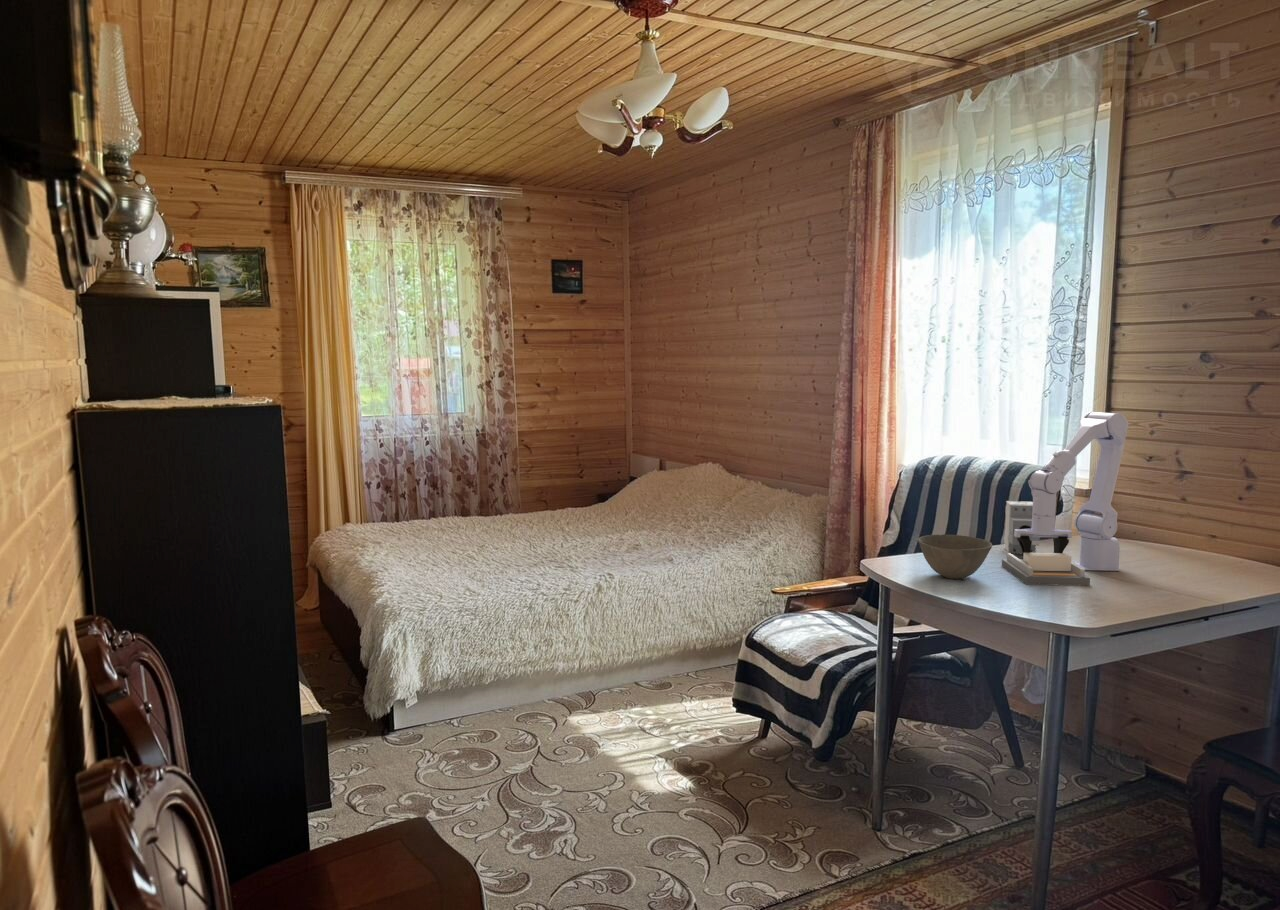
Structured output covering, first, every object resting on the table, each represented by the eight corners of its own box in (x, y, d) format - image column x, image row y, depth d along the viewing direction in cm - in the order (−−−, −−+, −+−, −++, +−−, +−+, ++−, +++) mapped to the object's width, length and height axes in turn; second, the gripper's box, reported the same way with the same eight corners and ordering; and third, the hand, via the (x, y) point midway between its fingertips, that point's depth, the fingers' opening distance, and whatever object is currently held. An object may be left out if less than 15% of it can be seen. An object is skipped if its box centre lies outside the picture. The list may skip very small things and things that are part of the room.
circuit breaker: (1012, 558, 250) (1014, 508, 248) (1004, 547, 263) (1005, 500, 262) (1040, 559, 248) (1042, 509, 246) (1029, 548, 262) (1031, 501, 260)
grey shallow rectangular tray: (1060, 567, 238) (1060, 553, 238) (1089, 585, 219) (1090, 570, 218) (1001, 565, 240) (1002, 552, 240) (1025, 584, 220) (1026, 569, 220)
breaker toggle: (1064, 567, 229) (1065, 553, 228) (1070, 571, 225) (1071, 556, 224) (1023, 566, 230) (1023, 552, 229) (1028, 570, 226) (1028, 555, 225)
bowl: (905, 578, 227) (906, 542, 226) (933, 565, 241) (934, 531, 240) (975, 590, 215) (976, 552, 214) (1000, 576, 229) (1002, 540, 228)
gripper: (1065, 512, 233) (1063, 560, 234) (1011, 511, 234) (1009, 559, 236) (1076, 516, 226) (1073, 566, 227) (1019, 516, 227) (1017, 565, 229)
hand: (1041, 563), depth 231 cm, fingers open, 7 cm apart
